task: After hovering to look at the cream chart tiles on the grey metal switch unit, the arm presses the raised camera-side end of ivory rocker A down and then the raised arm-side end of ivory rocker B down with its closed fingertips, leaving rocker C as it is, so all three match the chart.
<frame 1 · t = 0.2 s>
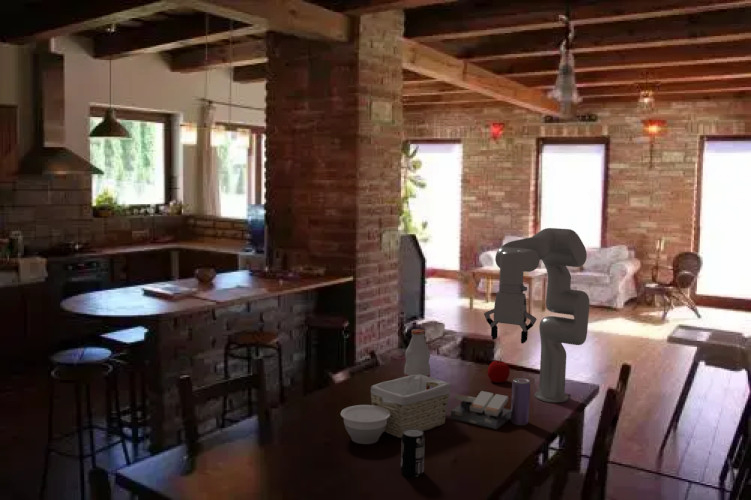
hand: (508, 340, 223), 31 cm above the table, fingers open, 9 cm apart
fruit: (498, 382, 283), on the table
rocker C: (496, 404, 236), point 6 cm above the table, hinge at 18.0°
bowl: (365, 439, 219), on the table
rocker B: (481, 401, 239), point 6 cm above the table, hinge at 18.0°
beverage can 2: (412, 473, 195), on the table
switch unit: (481, 418, 239), on the table
rocker A: (467, 398, 242), point 6 cm above the table, hinge at -18.0°
storage basket: (409, 426, 231), on the table
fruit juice: (416, 405, 252), on the table
beverage can: (519, 423, 236), on the table
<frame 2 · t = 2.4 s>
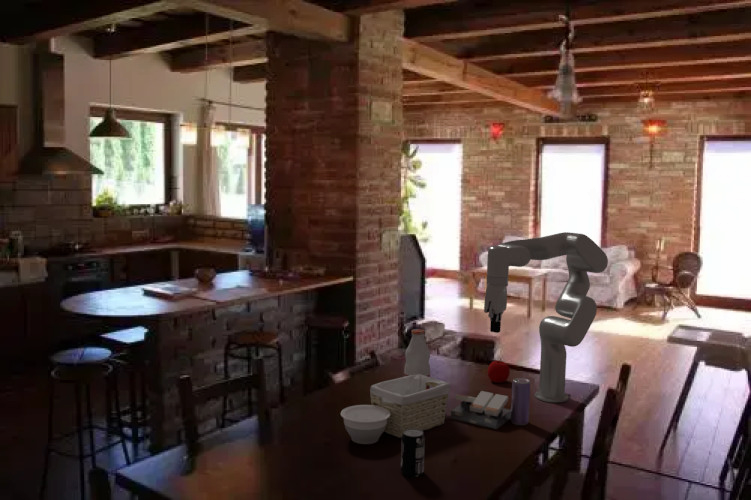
hand: (495, 331, 244), 29 cm above the table, fingers closed
nothing on the table moved.
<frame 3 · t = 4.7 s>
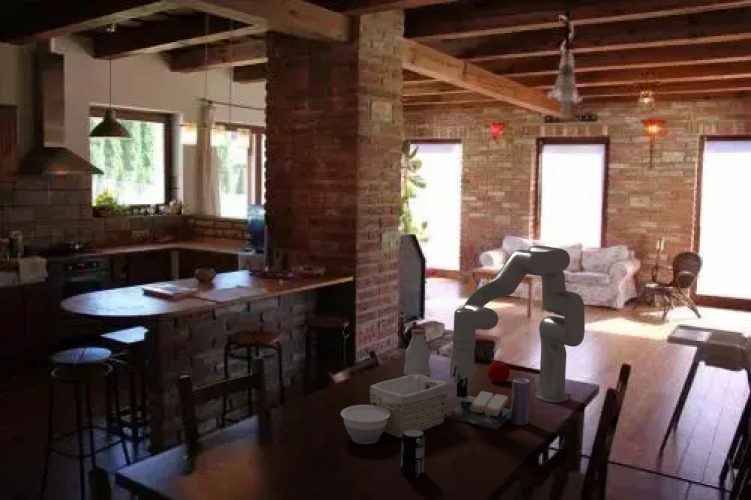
hand: (461, 396, 238), 8 cm above the table, fingers closed
rocker A: (467, 398, 242), point 6 cm above the table, hinge at -17.5°, touching gripper
everything else where it was.
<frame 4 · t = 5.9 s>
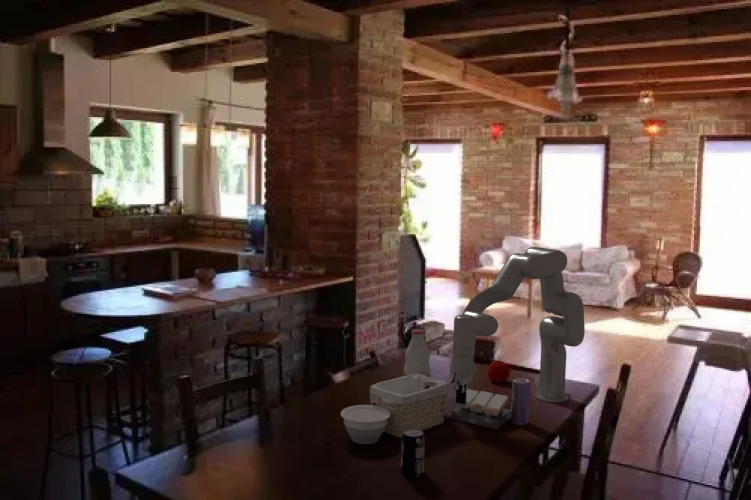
hand: (460, 402, 237), 6 cm above the table, fingers closed
rocker A: (467, 398, 242), point 6 cm above the table, hinge at 13.1°, touching gripper
everything else where it was.
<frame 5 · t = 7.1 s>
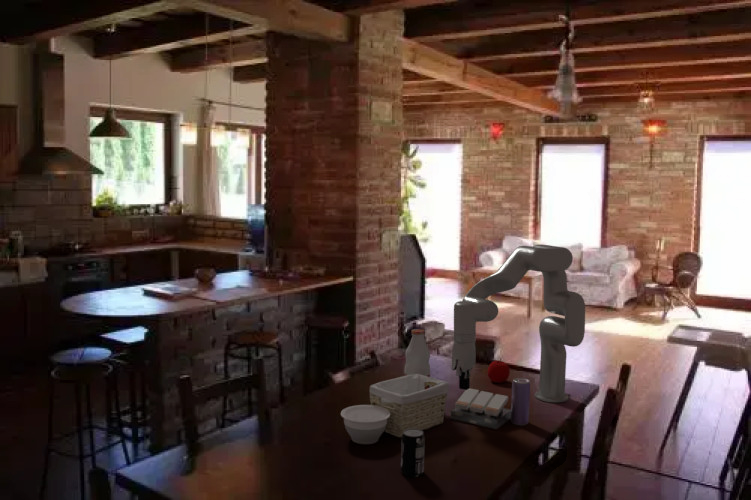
hand: (464, 388, 238), 11 cm above the table, fingers closed
rocker A: (467, 398, 242), point 6 cm above the table, hinge at 19.0°
everything else where it was.
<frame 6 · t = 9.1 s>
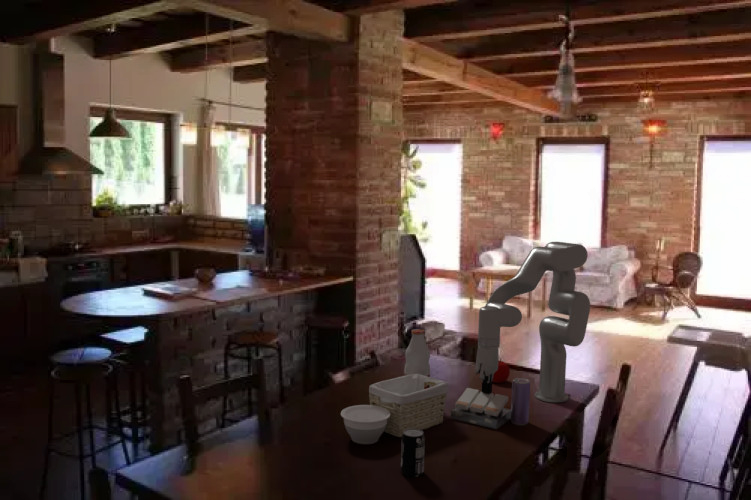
hand: (486, 392, 242), 8 cm above the table, fingers closed
rocker B: (481, 401, 239), point 6 cm above the table, hinge at 18.0°, touching gripper
rocker A: (467, 398, 242), point 6 cm above the table, hinge at 19.8°
everything else where it was.
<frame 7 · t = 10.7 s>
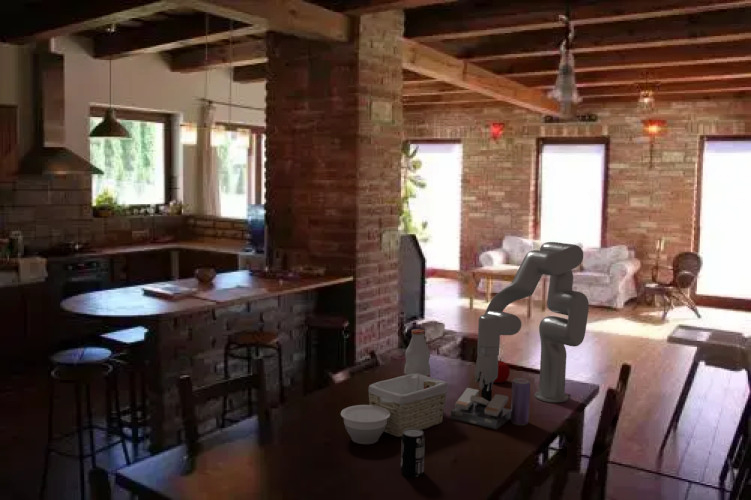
hand: (486, 400, 242), 5 cm above the table, fingers closed
rocker B: (481, 401, 239), point 6 cm above the table, hinge at -26.1°, touching gripper
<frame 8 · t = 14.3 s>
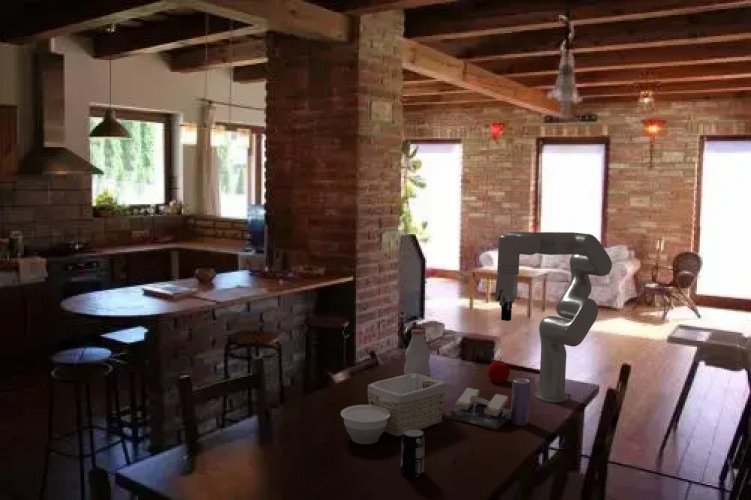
hand: (506, 320, 245), 33 cm above the table, fingers closed
rocker B: (481, 401, 239), point 6 cm above the table, hinge at -24.7°
at the end: rocker A at +20° (first picture: -18°); rocker B at -25° (first picture: +18°); rocker C at +18° (first picture: +18°) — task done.
